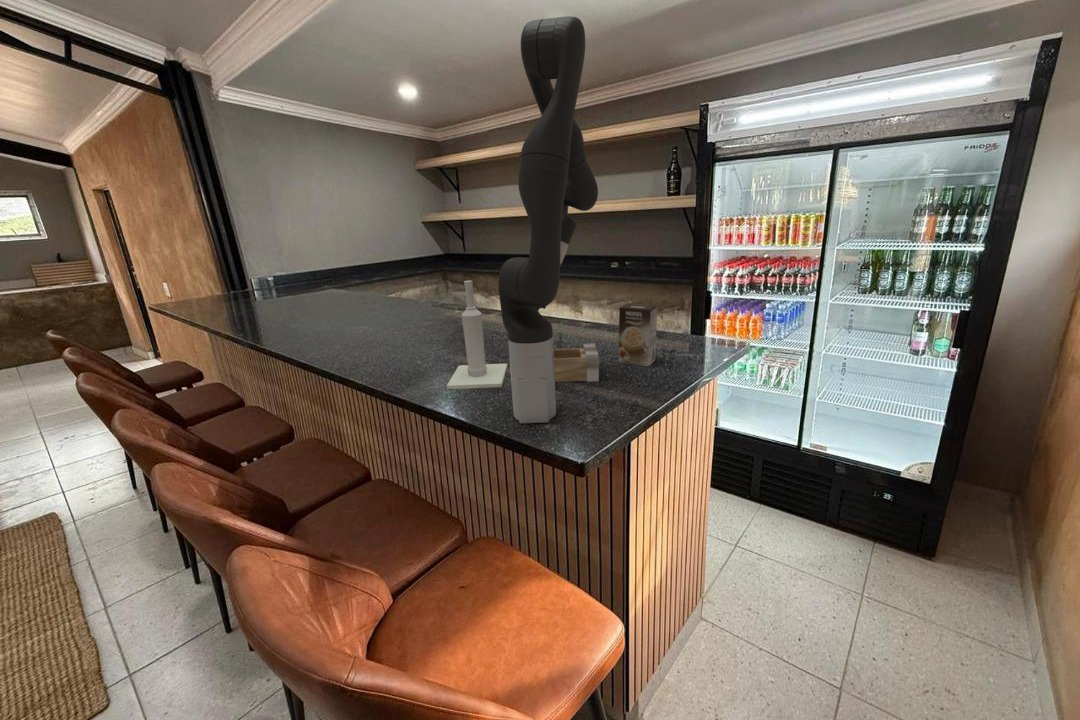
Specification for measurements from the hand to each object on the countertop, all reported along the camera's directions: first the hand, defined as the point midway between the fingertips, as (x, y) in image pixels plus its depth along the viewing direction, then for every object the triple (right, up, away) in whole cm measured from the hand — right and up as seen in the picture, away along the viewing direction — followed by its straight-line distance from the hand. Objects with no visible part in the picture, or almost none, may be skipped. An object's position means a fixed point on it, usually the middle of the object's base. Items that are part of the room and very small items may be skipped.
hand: (522, 315), depth 115 cm
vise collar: (+12, -16, +4) cm, 20 cm away
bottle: (-12, -15, +6) cm, 21 cm away
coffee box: (+32, -12, +12) cm, 37 cm away
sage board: (-12, -16, +6) cm, 21 cm away
